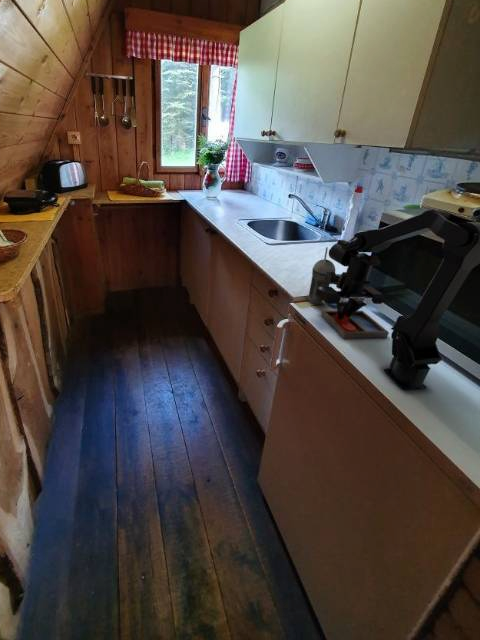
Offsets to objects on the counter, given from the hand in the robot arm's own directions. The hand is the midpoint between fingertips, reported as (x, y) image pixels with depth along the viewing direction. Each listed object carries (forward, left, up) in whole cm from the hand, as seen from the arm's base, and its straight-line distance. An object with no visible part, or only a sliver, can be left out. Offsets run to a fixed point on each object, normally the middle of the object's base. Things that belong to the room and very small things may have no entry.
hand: (341, 319), depth 94 cm
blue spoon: (+11, -7, -2) cm, 13 cm away
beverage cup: (+14, +1, -2) cm, 14 cm away
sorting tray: (-1, -3, -2) cm, 4 cm away
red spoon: (-2, 0, -1) cm, 2 cm away
